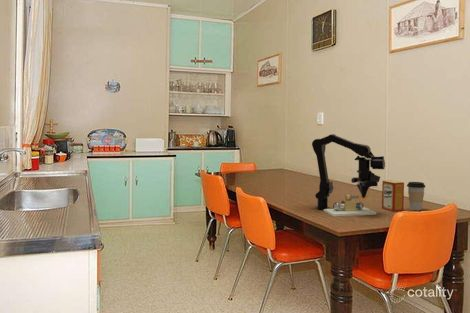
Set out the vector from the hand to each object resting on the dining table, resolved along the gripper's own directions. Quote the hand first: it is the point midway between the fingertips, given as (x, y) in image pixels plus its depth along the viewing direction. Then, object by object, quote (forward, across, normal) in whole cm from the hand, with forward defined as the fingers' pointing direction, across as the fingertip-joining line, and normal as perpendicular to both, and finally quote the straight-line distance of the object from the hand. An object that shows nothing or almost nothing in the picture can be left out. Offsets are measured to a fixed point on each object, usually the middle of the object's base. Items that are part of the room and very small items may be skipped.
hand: (363, 197), depth 217 cm
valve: (+7, +3, +7) cm, 11 cm away
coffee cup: (+8, +3, -32) cm, 33 cm away
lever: (+1, +2, +3) cm, 4 cm away
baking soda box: (+8, +6, -20) cm, 22 cm away
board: (+8, +2, +7) cm, 11 cm away
